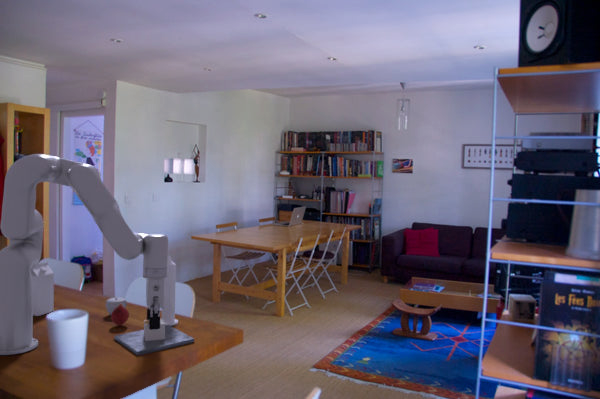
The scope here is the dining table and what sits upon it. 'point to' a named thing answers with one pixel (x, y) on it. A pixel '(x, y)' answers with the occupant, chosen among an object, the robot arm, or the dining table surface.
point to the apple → (114, 304)
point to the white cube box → (154, 331)
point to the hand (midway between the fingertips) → (153, 324)
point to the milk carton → (42, 289)
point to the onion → (120, 315)
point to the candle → (169, 294)
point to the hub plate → (153, 341)
